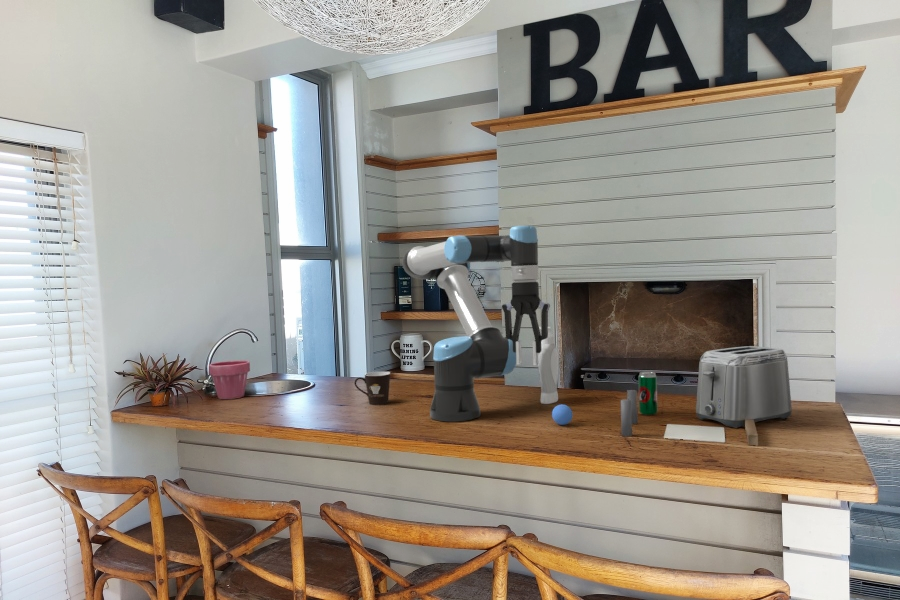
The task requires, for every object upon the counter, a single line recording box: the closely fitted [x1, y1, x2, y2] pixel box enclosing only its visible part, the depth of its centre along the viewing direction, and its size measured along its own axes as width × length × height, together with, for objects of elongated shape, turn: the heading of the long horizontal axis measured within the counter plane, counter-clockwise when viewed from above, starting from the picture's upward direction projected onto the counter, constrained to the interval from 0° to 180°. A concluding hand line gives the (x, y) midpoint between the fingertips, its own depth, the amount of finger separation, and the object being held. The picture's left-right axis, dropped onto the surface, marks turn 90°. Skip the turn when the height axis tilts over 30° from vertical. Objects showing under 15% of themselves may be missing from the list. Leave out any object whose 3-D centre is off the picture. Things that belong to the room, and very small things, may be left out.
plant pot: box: [208, 360, 251, 400], centre depth 228 cm, size 14×14×13 cm
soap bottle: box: [537, 326, 559, 405], centre depth 201 cm, size 13×8×24 cm, turn 151°
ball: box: [551, 403, 574, 426], centre depth 170 cm, size 6×6×6 cm
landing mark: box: [663, 423, 726, 444], centre depth 157 cm, size 14×14×1 cm
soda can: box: [637, 371, 658, 416], centre depth 179 cm, size 5×5×12 cm
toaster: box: [695, 345, 793, 429], centre depth 170 cm, size 17×30×19 cm, turn 113°
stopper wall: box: [744, 419, 759, 447], centre depth 152 cm, size 2×16×2 cm, turn 157°
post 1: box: [620, 398, 633, 437], centre depth 157 cm, size 3×3×9 cm
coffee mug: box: [354, 371, 391, 406], centre depth 208 cm, size 12×9×10 cm
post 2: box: [626, 389, 639, 425], centre depth 169 cm, size 3×3×9 cm
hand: (527, 364), depth 173 cm, fingers open, 4 cm apart
